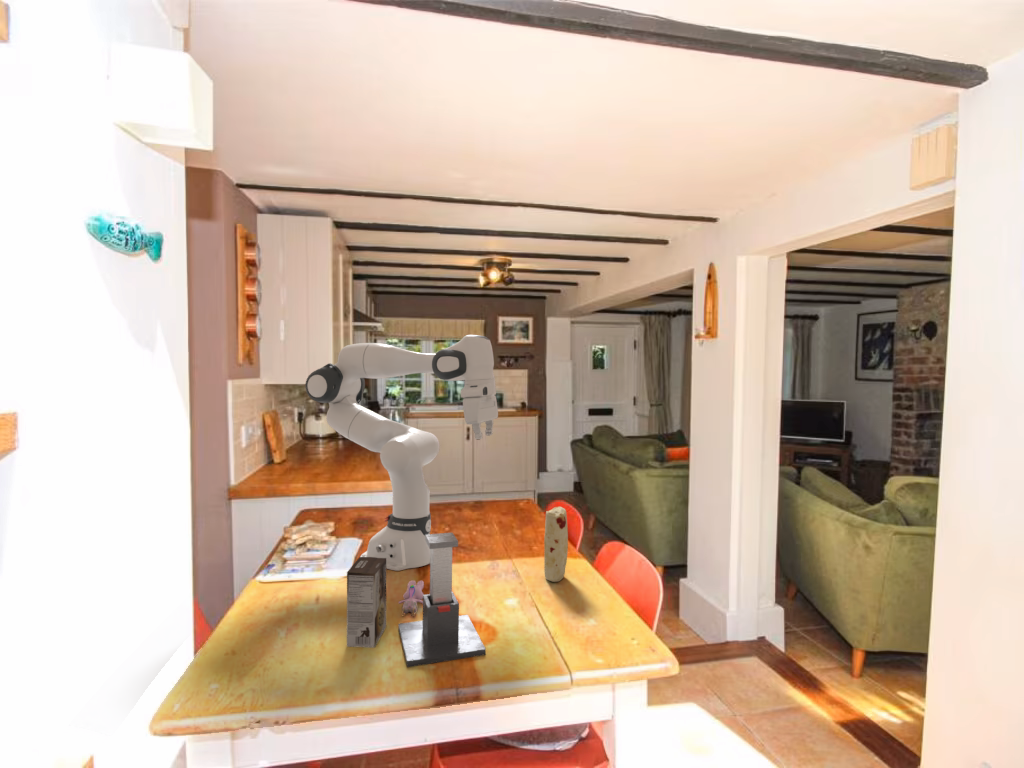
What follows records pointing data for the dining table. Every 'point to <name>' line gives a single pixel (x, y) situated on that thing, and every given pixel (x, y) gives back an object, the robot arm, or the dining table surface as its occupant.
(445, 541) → the steel column
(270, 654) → the dining table surface
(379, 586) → the coffee box
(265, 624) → the dining table surface
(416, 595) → the rabbit figure
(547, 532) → the food model
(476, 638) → the stand base
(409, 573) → the dining table surface
